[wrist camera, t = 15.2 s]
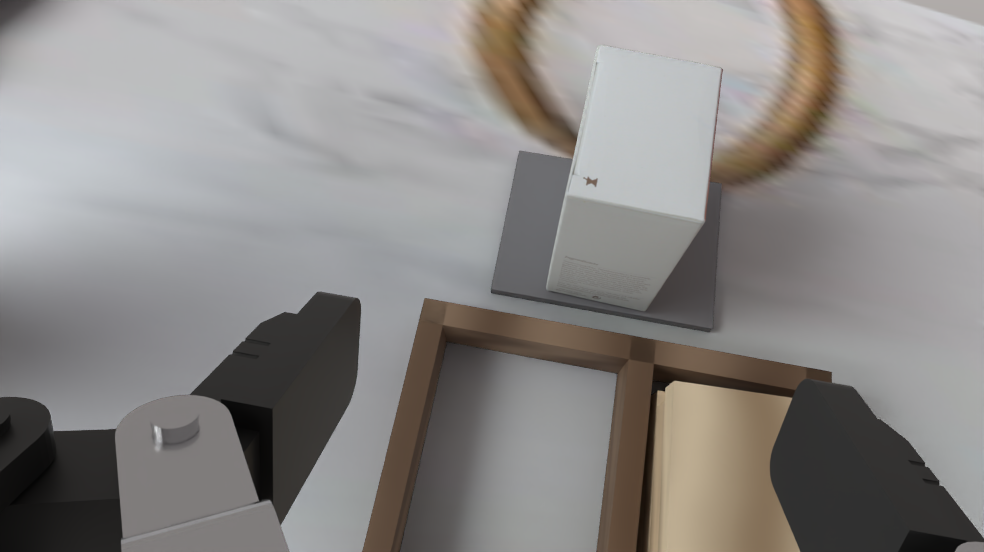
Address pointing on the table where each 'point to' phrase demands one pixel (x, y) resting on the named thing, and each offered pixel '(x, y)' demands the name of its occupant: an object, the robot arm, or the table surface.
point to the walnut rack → (571, 346)
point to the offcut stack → (712, 472)
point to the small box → (636, 177)
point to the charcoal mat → (534, 238)
